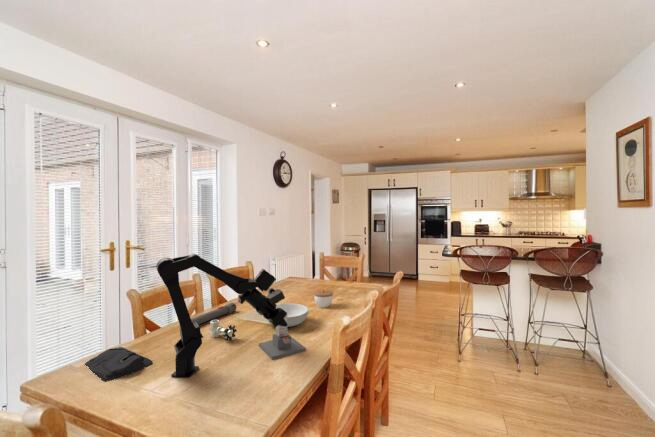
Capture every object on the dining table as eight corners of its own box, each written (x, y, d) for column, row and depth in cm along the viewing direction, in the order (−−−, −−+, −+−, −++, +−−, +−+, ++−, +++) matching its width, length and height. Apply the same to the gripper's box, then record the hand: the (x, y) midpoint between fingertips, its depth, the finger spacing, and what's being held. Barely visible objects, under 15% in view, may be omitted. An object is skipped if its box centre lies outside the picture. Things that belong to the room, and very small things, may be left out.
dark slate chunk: (127, 350, 124) (127, 338, 124) (155, 365, 111) (155, 352, 111) (80, 366, 112) (80, 352, 112) (106, 385, 99) (105, 370, 99)
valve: (205, 337, 135) (224, 343, 129) (205, 322, 135) (224, 327, 129) (218, 332, 141) (236, 337, 135) (217, 318, 141) (236, 322, 135)
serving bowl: (256, 329, 144) (256, 314, 144) (275, 315, 164) (275, 302, 164) (300, 333, 139) (300, 318, 139) (313, 318, 159) (313, 304, 159)
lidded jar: (311, 304, 182) (311, 288, 181) (328, 302, 186) (328, 286, 186) (318, 310, 172) (318, 293, 172) (336, 307, 176) (336, 290, 176)
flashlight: (186, 327, 147) (186, 317, 147) (229, 310, 173) (229, 301, 172) (194, 329, 145) (194, 318, 145) (236, 312, 170) (236, 302, 170)
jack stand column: (279, 342, 122) (279, 313, 121) (275, 338, 125) (275, 310, 124) (287, 340, 124) (287, 311, 123) (283, 337, 127) (283, 309, 126)
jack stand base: (271, 359, 115) (271, 345, 114) (258, 345, 126) (258, 332, 126) (305, 350, 122) (305, 337, 122) (290, 338, 134) (290, 325, 134)
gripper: (281, 288, 114) (308, 313, 120) (263, 279, 130) (287, 302, 136) (260, 314, 110) (289, 338, 116) (244, 301, 125) (270, 323, 132)
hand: (284, 324), depth 125 cm, fingers closed on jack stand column, 4 cm apart
